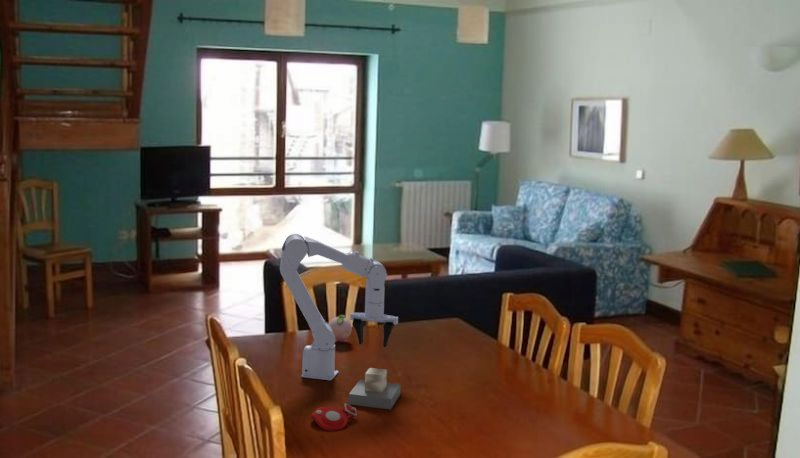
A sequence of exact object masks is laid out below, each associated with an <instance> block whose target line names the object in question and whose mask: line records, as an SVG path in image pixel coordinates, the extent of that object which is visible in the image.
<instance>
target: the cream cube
mask: <svg viewBox="0 0 800 458" xmlns="http://www.w3.org/2000/svg"><path fill="white" fill-rule="evenodd" d="M387 376H388V369H383V368H376V367H375V368H374V367H369V368H368V369H367V370H366V372H365V373H364V380H365V391H373V392H381V393H382V392H383V391H384V389H385V388H386V383H387V378H388V377H387Z"/></svg>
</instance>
